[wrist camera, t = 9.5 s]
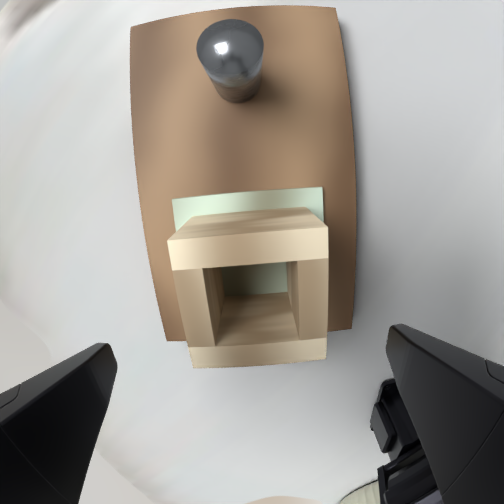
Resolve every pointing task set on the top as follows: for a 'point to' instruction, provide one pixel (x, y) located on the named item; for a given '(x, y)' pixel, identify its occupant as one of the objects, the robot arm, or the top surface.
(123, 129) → the top surface
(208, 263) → the collar
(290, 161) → the board
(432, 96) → the top surface
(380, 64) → the top surface
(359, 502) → the canister
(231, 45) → the post
